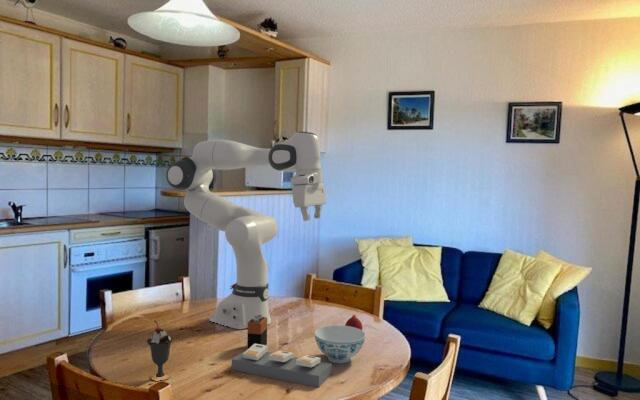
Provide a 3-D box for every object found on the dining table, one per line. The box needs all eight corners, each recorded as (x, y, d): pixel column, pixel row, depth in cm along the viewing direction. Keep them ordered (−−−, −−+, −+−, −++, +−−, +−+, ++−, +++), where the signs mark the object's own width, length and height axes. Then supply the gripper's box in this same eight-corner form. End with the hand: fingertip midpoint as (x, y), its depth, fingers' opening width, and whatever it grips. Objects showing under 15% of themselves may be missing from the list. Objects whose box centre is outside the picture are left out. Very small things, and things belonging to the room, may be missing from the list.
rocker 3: (295, 366, 129) (296, 359, 129) (305, 361, 134) (306, 354, 135) (311, 369, 127) (311, 362, 127) (320, 364, 133) (320, 357, 133)
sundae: (150, 372, 132) (150, 317, 131) (175, 372, 132) (176, 317, 131) (143, 383, 125) (143, 325, 124) (170, 382, 126) (170, 325, 125)
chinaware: (329, 346, 155) (330, 322, 154) (373, 356, 147) (373, 331, 147) (304, 361, 142) (304, 335, 141) (350, 373, 134) (351, 345, 134)
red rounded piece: (361, 342, 159) (361, 317, 159) (343, 340, 161) (344, 316, 160) (363, 336, 165) (363, 312, 165) (346, 334, 166) (346, 311, 166)
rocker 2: (268, 361, 132) (269, 354, 132) (279, 356, 138) (280, 349, 138) (283, 364, 130) (283, 357, 130) (293, 359, 136) (294, 352, 136)
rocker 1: (243, 359, 135) (242, 353, 135) (255, 348, 141) (254, 342, 140) (257, 362, 133) (256, 355, 133) (268, 351, 139) (268, 345, 139)
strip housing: (231, 369, 135) (231, 359, 135) (248, 358, 143) (248, 348, 143) (318, 387, 125) (319, 375, 125) (331, 374, 133) (331, 363, 133)
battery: (246, 351, 149) (247, 319, 148) (254, 344, 155) (254, 313, 155) (260, 352, 148) (261, 320, 147) (267, 345, 155) (267, 314, 154)
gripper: (313, 179, 177) (315, 217, 178) (287, 179, 159) (290, 222, 159) (329, 178, 175) (331, 216, 175) (305, 178, 156) (308, 221, 156)
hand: (312, 219), depth 167 cm, fingers open, 8 cm apart
